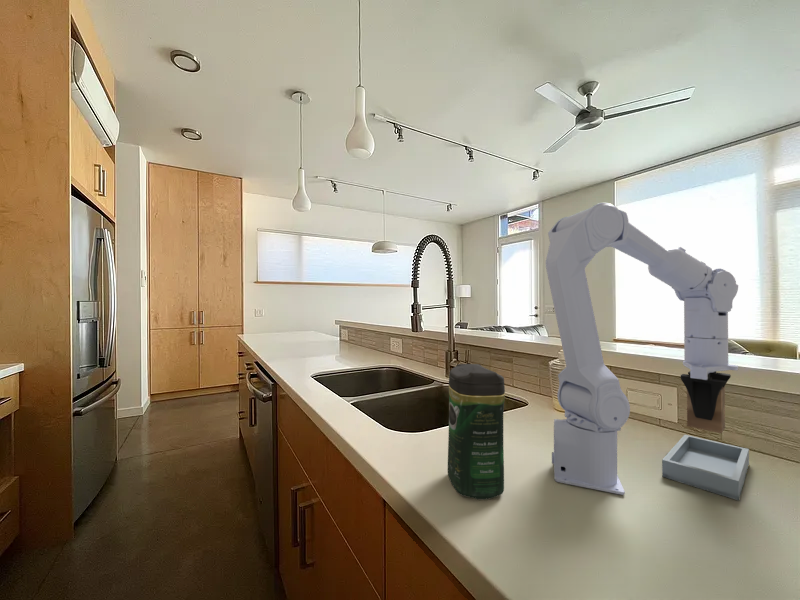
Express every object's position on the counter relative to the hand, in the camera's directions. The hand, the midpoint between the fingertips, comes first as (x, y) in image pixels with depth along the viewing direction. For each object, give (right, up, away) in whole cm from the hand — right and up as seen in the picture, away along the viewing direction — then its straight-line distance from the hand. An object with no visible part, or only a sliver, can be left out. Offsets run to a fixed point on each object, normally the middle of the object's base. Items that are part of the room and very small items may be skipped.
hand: (706, 415), depth 59 cm
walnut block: (0, -2, 0) cm, 2 cm away
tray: (0, -9, 0) cm, 9 cm away
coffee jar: (-42, -9, -6) cm, 43 cm away
